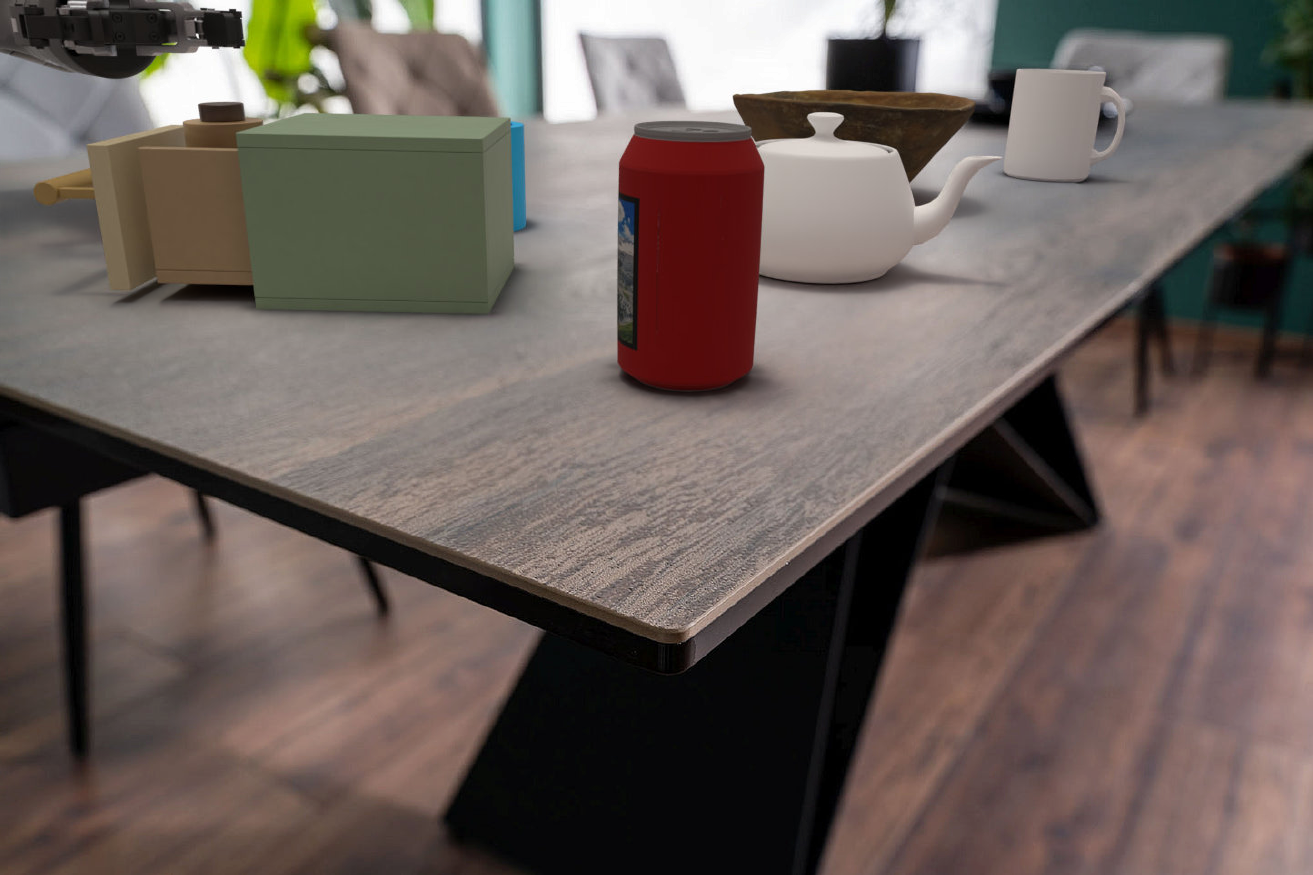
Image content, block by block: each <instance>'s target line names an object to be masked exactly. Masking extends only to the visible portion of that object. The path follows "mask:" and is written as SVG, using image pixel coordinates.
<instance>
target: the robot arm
mask: <svg viewBox="0 0 1313 875" xmlns="http://www.w3.org/2000/svg"><path fill="white" fill-rule="evenodd" d="M200 47H202V48H211V49H212V50H220V48H232V49H235V50H240V49H241V47H243V48H244V47H246V40H245V36H244V27H243V13H242V10H237V8H228V10H216V8H213V7H212V8H211V7H210V8H208V7H199V9H195V8H194V7H193V5H192V4H191V3H190V2H184V1H183V2H182V1H179V2H178V1H159V0H0V53H1V54H5V55H8V56H11V57H15V58H18V59H20V60H24V61H28V62H31V63H34V64H37V65H40V66H42V67H47V68H50V69H52V70H56V71H59V72H63V73H68V74H75V73H77V74H81V75H86V76H93V77H96V78H103V79H108V80H109V79H110V80H123V79H128V78H131V77H134V76H136V75H139V74H140V73H141V74H142V73H143V72H144V71H145V70H147V69H148V68H149V67H150V66H151V64H153V62H154V61H155V60H156V58H157V56H162V55H163V54H164V53H165V54H194V53H197V52H198V50H199V48H200Z"/></svg>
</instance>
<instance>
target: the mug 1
mask: <svg viewBox="0 0 1313 875" xmlns="http://www.w3.org/2000/svg"><path fill="white" fill-rule="evenodd" d="M510 131H511V155H512V193H513V232H517V231H521V230H523V229H525V228H526V226H527V199H526V198H527V196H526V195H527V194H526V191H527V190H526V154H525V152H526V151H525V148H526V147H525V145H526V144H525V124H524V123H523V122H519V121H513V120H511V130H510Z"/></svg>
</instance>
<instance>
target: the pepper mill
mask: <svg viewBox="0 0 1313 875" xmlns="http://www.w3.org/2000/svg"><path fill="white" fill-rule="evenodd" d="M197 108H198V115H199V118H191V119H187V120H183V121H182V125H183V129H184V135H185V142H186V147H193V148H236V149H237V148H238V146H237V139H236V133H237V132H241V131H244V130H247V129H251V128H254V127H258V126H261V125H264V120H263V118H259V117H250V116H249V117H247V116H246V110H245V103H243V102H242V101H207V102H200V103H198V104H197Z"/></svg>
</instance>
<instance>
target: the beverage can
mask: <svg viewBox="0 0 1313 875" xmlns="http://www.w3.org/2000/svg"><path fill="white" fill-rule="evenodd" d="M633 131H634V133H633V135H632V136H631V138H630V139H629V142H628V144H627V145H626V147H625V149H624V151H623V153H622V155H621V156H620V159H619V161H618V184H617V185H618V188H617V189H618V192H617V255H616V257H617V262H616V268H617V270H616V278H617V279H616V298H617V299H616V340H617V342H616V346H617V347H616V350H617V351H616V356H617V357H616V358H617V361H616V362H617V364H618V366H619V367H620V368H621V370H623V371H624V372H625V373H626V374H628V375H630V376H631V377H633V378H634V379H636V380H637V381H638V382H640V383H642V384H643V385H645V386H648V387H651V388H654V389H655V388H656V389H660V390H663V391H664V390H665V391H671V392H686V393H687V392H705V391H706V392H707V391H714V390H717V389H721V388H724V387H727V386H729V385H731V384H732V383H734V382H735V381H738V380H739V379H740V378H743V377H744V376H746V375H747V374H748V373H750V371H751V370H752V369H753V367H754V360H755V358H754V356H755V346H756V345H755V344H756V328H757V318H758V317H757V314H758V300H759V299H758V298H759V284H760V274H759V269H760V251H761V233H762V214H763V193H764V171H765V167H764V163H763V161H762V159H761V156H760V154H759V152H758V150H757V147H756V145H755V141H754V139H753V138H752V136H751V133H752V130H751V127H749V126H745V124H739V123H731V122H721V121H705V120H654V121H645V122H639V123H636V124H634V126H633Z"/></svg>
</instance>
